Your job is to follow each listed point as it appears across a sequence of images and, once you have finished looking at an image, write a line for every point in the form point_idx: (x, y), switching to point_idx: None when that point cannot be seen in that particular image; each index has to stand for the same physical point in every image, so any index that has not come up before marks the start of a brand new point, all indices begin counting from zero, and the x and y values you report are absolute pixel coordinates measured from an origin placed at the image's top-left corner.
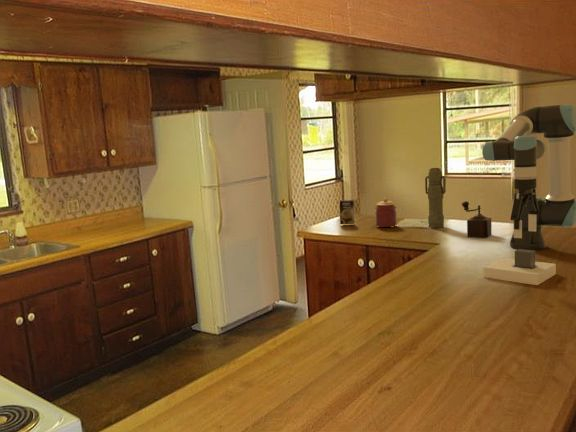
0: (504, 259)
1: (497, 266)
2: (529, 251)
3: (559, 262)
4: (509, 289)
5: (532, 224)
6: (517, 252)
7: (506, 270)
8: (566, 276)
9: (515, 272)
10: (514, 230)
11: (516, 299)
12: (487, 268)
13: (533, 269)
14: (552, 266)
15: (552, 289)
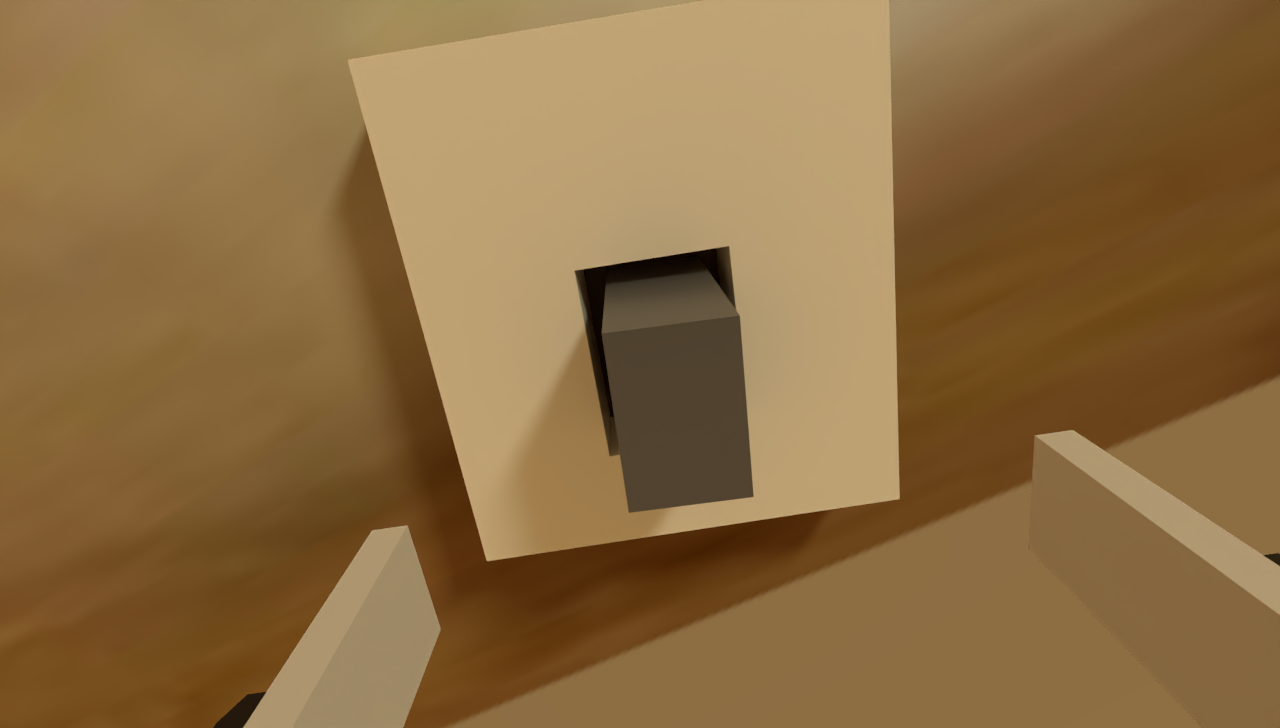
0: (812, 31)
1: (477, 166)
2: (677, 473)
3: (1275, 293)
4: (263, 437)
5: (1124, 587)
6: (607, 362)
7: (419, 315)
8: (847, 530)
9: (443, 392)
10: (318, 638)
11: (121, 580)
12: (364, 112)
13: (605, 467)
14: (817, 507)
15: (485, 612)
